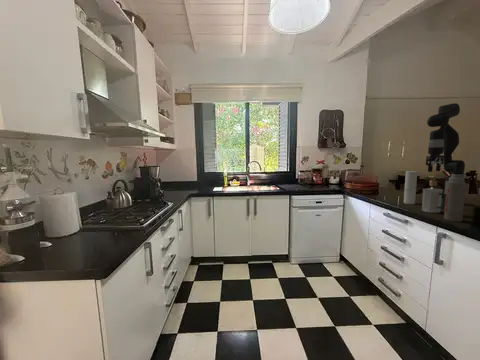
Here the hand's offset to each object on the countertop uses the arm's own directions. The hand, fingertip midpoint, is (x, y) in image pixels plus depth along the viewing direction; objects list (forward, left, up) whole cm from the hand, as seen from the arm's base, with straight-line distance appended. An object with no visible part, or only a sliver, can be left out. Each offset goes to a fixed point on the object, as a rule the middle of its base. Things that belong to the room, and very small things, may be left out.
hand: (434, 171), depth 150 cm
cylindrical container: (-13, -22, -27) cm, 37 cm away
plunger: (0, 0, -25) cm, 25 cm away
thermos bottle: (+10, +17, -27) cm, 33 cm away
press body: (0, +1, -27) cm, 27 cm away
